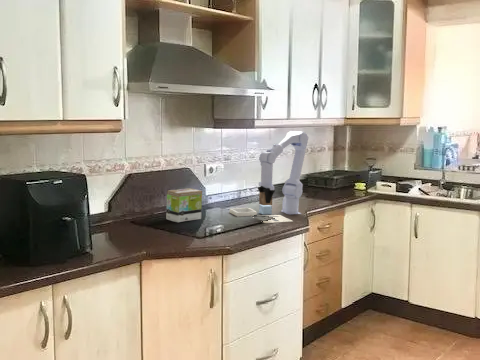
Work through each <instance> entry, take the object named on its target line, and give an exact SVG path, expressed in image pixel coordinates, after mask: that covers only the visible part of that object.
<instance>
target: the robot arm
mask: <svg viewBox="0 0 480 360" xmlns="http://www.w3.org/2000/svg"><path fill="white" fill-rule="evenodd" d="M308 143H309V136H308V133H307V132H306V131H293V130H289V131H288V132H287V133H286V136H285V137H284V138H283V139H282V140H281V141H280V142H279V143H274V144H272V146H271V147H269V148H268V149H267V150H265V151H262V152H261V153H260V155H259V157H258V160H259V162H260V167H261V169H260V182H259V181H258V187H257V189H258V192H264V193H265V199H266V203H270V202H271V198H272V199H273V196H272V195H274V193H275V191H276V189H275V185H273V170H274V169H273V168H274V164H275V161H276V160H277V158H278V157H279V156H280V155H281V154H283V152H284V149H285V148H287V147H288V146H289V145H291V146H292V148H294V149H295V151H294V155H293V160H292V165H291V169H290V174H289V178H288V179H287V180H285V181H284V185H283V186H282V190H281V191H282V194H283V196H284V197H283V198H282V202H281V203H282V204H281V205H282V206H281V207H282V209H281V210H280V212H282V213H285V215H286V214H287V215H302V213H301V212H299V203H300V198H301V196H302V194H303V188H304V187H303V186H304V184H303V183H302V182H301V181H300V178H301V174H302V168H303V164H304V160H305V155H306V151H307V147H308Z"/></svg>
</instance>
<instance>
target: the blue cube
mask: <svg viewBox="0 0 480 360" xmlns="http://www.w3.org/2000/svg"><path fill="white" fill-rule="evenodd" d="M258 214H260V215H261V216H268V215H273V205H261V204H259V210H258Z"/></svg>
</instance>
